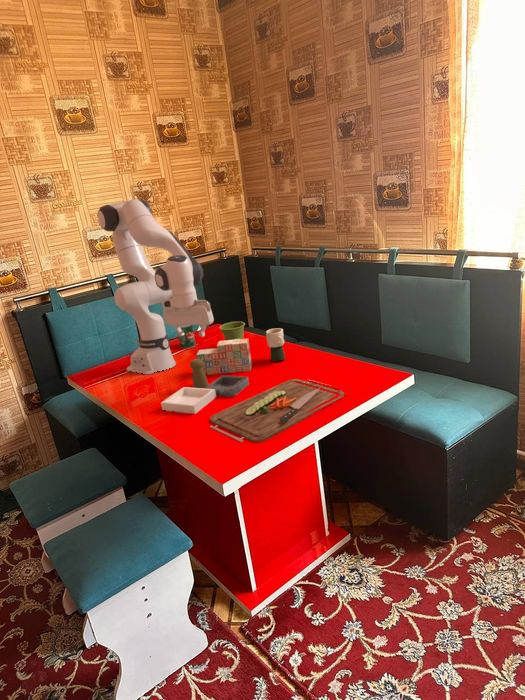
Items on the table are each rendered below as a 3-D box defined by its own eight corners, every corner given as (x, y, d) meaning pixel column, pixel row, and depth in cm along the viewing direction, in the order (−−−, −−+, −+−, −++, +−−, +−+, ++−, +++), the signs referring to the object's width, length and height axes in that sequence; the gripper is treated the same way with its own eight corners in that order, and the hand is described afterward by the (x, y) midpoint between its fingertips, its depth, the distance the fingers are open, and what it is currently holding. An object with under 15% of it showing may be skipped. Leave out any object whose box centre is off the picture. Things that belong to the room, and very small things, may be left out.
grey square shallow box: (207, 394, 188) (205, 387, 187) (222, 382, 198) (221, 375, 197) (234, 396, 183) (232, 389, 182) (249, 384, 192) (247, 376, 191)
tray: (162, 410, 180) (160, 402, 179) (185, 394, 191) (183, 387, 190) (195, 413, 173) (193, 405, 172) (216, 396, 185) (215, 389, 184)
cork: (211, 383, 199) (206, 357, 195) (204, 389, 193) (199, 362, 190) (197, 383, 201) (192, 357, 197) (190, 389, 195) (185, 362, 192)
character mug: (291, 360, 211) (288, 331, 207) (276, 365, 208) (273, 335, 204) (279, 354, 220) (275, 326, 216) (264, 359, 217) (260, 330, 213)
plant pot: (221, 347, 242) (217, 324, 239) (245, 342, 244) (242, 320, 241) (225, 354, 231) (221, 330, 228) (250, 349, 233) (247, 325, 230)
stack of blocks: (199, 375, 209) (194, 347, 205) (202, 370, 215) (197, 342, 211) (250, 371, 206) (246, 342, 202) (252, 365, 212) (248, 337, 208)
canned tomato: (194, 347, 248) (191, 326, 244) (179, 349, 248) (174, 328, 244) (196, 342, 255) (192, 321, 252) (181, 344, 255) (177, 323, 252)
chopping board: (298, 378, 192) (297, 371, 191) (353, 394, 172) (353, 386, 171) (200, 424, 166) (199, 416, 165) (252, 449, 146) (251, 439, 145)
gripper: (213, 297, 184) (219, 333, 188) (168, 298, 194) (175, 333, 198) (204, 301, 179) (210, 339, 183) (158, 303, 188) (165, 338, 193)
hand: (191, 336), depth 191 cm, fingers open, 8 cm apart
